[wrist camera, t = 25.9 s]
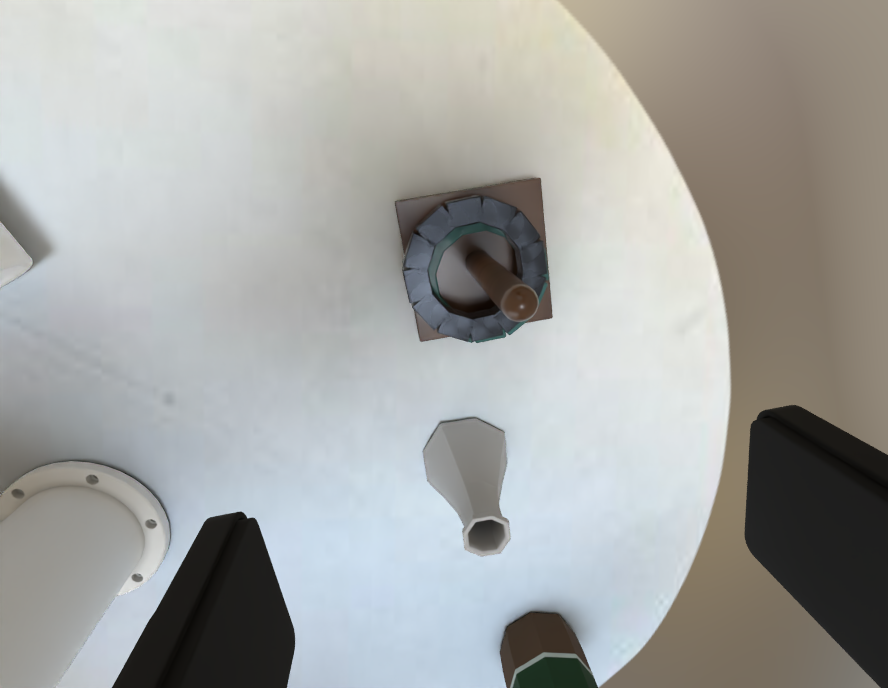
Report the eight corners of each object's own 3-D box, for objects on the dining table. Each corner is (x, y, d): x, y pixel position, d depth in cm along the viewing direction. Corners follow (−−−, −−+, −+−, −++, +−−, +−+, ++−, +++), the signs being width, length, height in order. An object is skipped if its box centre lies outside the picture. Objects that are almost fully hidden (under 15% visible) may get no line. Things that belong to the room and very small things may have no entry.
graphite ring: (419, 345, 34) (421, 353, 33) (389, 212, 31) (389, 214, 30) (547, 318, 35) (554, 324, 33) (529, 183, 32) (536, 183, 30)
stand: (419, 336, 37) (434, 423, 24) (394, 201, 34) (396, 214, 21) (546, 313, 38) (632, 386, 24) (534, 177, 35) (625, 175, 21)
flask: (431, 410, 40) (443, 482, 30) (516, 422, 41) (554, 495, 31) (414, 487, 42) (421, 576, 32) (496, 496, 43) (526, 586, 33)
